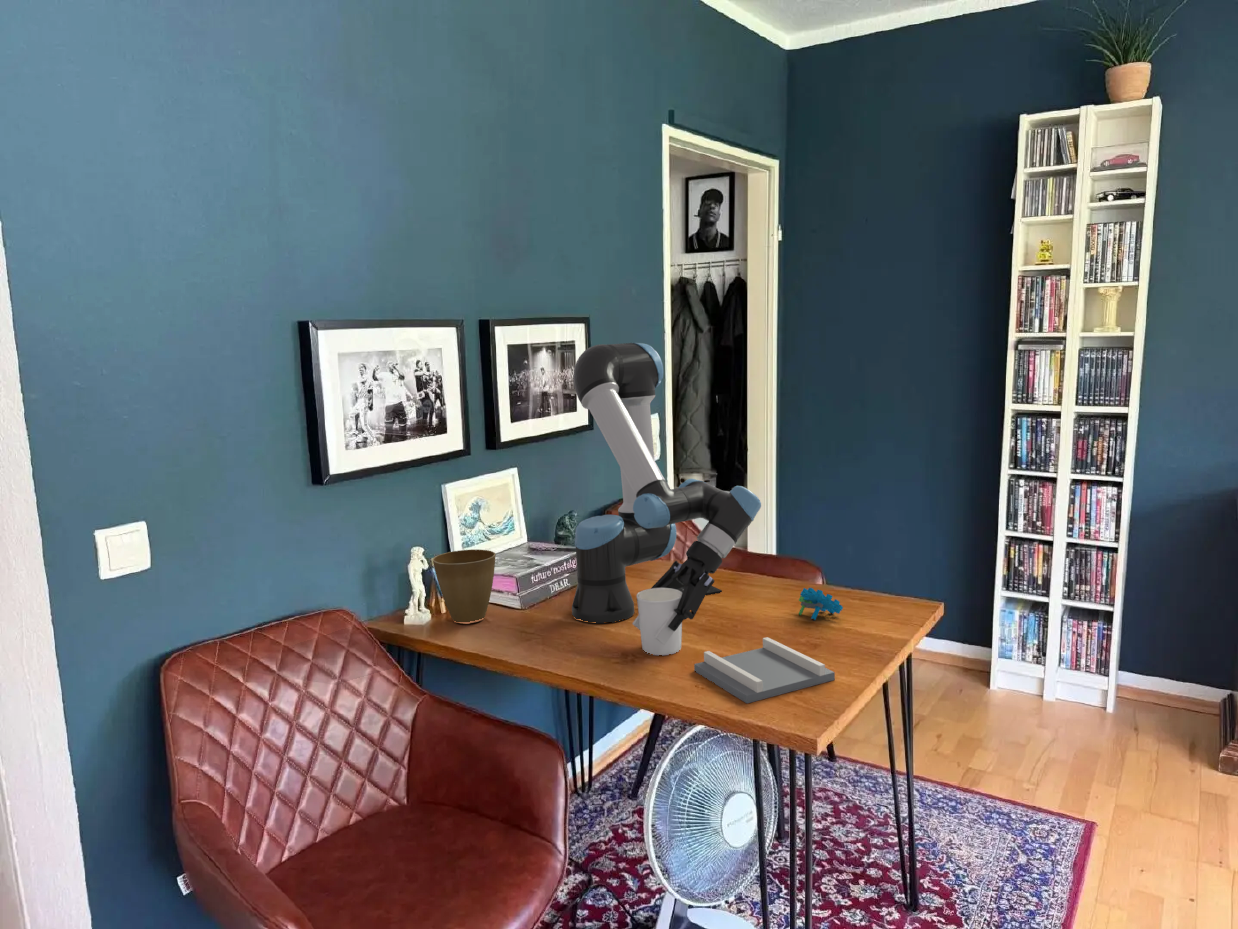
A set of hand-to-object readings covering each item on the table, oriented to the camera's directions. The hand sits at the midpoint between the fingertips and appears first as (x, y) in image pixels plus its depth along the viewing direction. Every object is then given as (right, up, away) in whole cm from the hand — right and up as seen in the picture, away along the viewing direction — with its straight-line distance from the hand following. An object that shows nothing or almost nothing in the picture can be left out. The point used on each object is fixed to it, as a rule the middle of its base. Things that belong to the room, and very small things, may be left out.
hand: (647, 634), depth 181 cm
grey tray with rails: (+22, -5, -15) cm, 27 cm away
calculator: (+14, +2, +44) cm, 46 cm away
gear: (+40, 0, +18) cm, 44 cm away
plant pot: (-43, -2, +27) cm, 51 cm away
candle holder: (+3, -4, +2) cm, 5 cm away
